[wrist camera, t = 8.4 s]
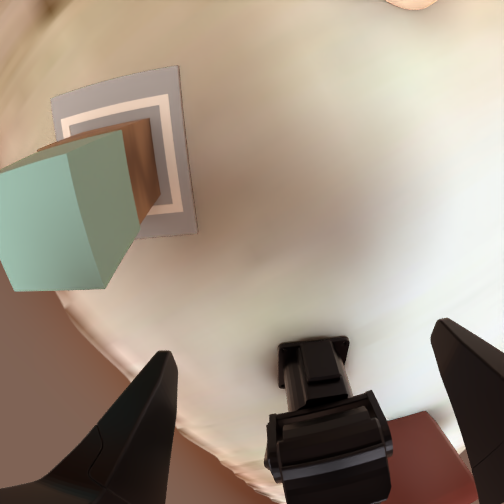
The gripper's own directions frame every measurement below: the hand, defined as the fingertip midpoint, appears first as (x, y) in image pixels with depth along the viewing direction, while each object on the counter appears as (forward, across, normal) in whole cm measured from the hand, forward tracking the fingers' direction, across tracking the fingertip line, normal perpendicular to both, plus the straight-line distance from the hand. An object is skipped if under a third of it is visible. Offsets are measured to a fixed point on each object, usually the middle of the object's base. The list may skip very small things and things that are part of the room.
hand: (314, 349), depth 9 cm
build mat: (+12, +10, -4) cm, 16 cm away
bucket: (+13, -19, +42) cm, 48 cm away
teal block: (+7, +10, -4) cm, 13 cm away
